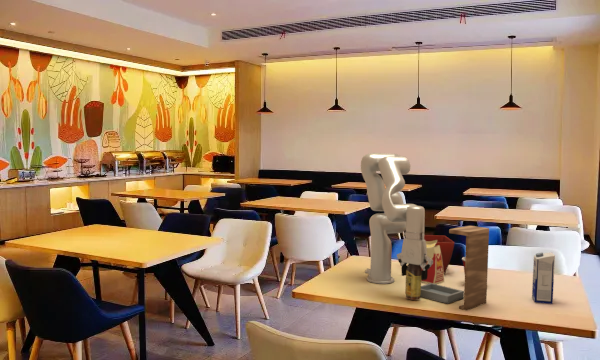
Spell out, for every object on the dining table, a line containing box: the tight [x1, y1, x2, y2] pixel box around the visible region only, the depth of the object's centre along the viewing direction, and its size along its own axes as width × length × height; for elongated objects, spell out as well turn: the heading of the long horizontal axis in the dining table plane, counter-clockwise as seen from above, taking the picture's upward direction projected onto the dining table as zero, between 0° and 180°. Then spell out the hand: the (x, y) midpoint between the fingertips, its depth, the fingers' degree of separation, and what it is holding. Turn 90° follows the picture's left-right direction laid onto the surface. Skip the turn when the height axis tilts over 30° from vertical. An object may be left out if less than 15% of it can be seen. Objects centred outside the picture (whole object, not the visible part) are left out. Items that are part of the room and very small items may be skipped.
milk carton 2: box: [531, 252, 556, 305], centre depth 213 cm, size 7×7×20 cm
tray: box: [420, 283, 464, 305], centre depth 217 cm, size 16×12×3 cm
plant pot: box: [424, 234, 455, 275], centre depth 262 cm, size 19×19×17 cm
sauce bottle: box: [404, 263, 422, 301], centre depth 214 cm, size 6×6×20 cm
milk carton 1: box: [421, 240, 445, 285], centre depth 242 cm, size 9×9×20 cm
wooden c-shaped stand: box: [448, 225, 490, 311], centre depth 207 cm, size 9×15×30 cm, turn 132°
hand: (414, 277), depth 214 cm, fingers open, 9 cm apart
